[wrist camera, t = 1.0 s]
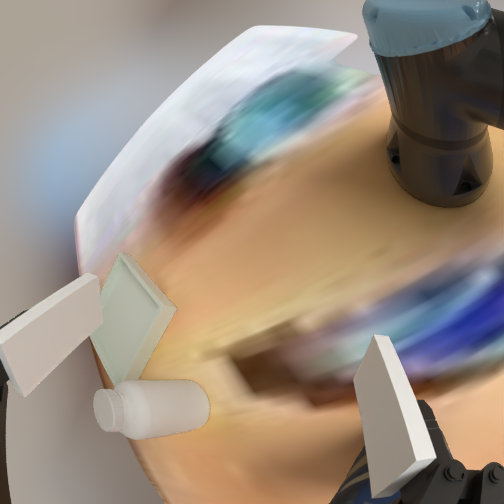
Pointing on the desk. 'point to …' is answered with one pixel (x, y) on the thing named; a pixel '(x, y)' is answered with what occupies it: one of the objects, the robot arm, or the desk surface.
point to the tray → (130, 320)
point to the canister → (363, 484)
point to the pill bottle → (151, 408)
